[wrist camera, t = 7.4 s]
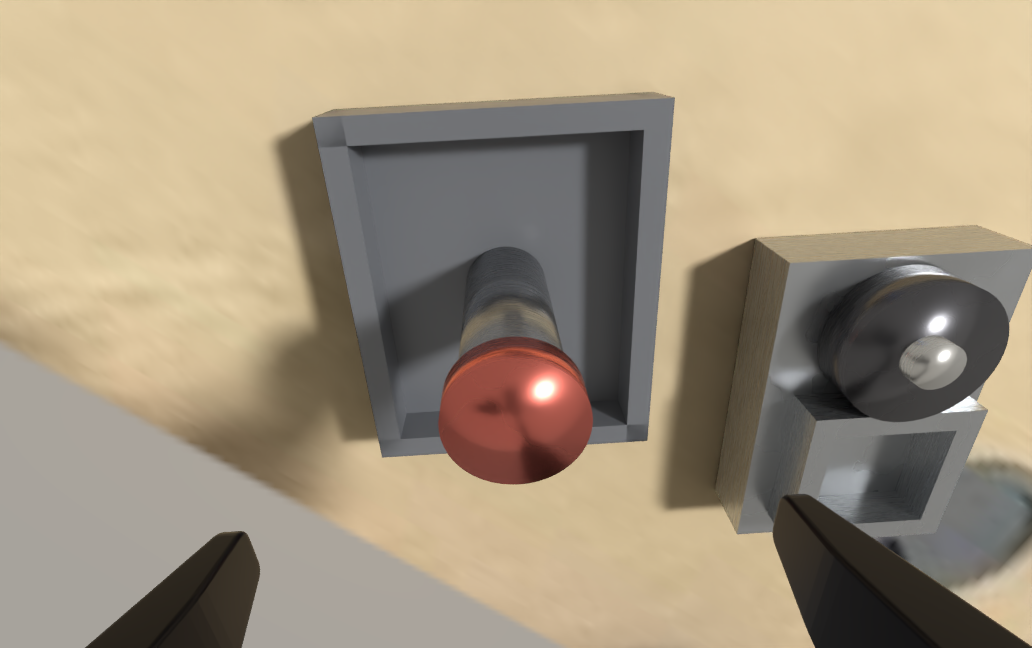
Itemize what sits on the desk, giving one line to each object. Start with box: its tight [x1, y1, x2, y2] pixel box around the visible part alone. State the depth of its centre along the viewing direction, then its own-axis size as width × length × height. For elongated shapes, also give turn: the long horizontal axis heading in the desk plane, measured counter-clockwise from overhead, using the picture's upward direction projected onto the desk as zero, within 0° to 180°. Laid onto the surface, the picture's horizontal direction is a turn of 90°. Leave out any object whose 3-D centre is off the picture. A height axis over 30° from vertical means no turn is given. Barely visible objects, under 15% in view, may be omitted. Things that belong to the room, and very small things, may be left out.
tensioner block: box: [715, 225, 1032, 537], centre depth 20 cm, size 12×8×5 cm, turn 3°
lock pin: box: [438, 247, 593, 484], centre depth 15 cm, size 3×3×8 cm
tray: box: [312, 92, 675, 457], centre depth 19 cm, size 12×10×2 cm
